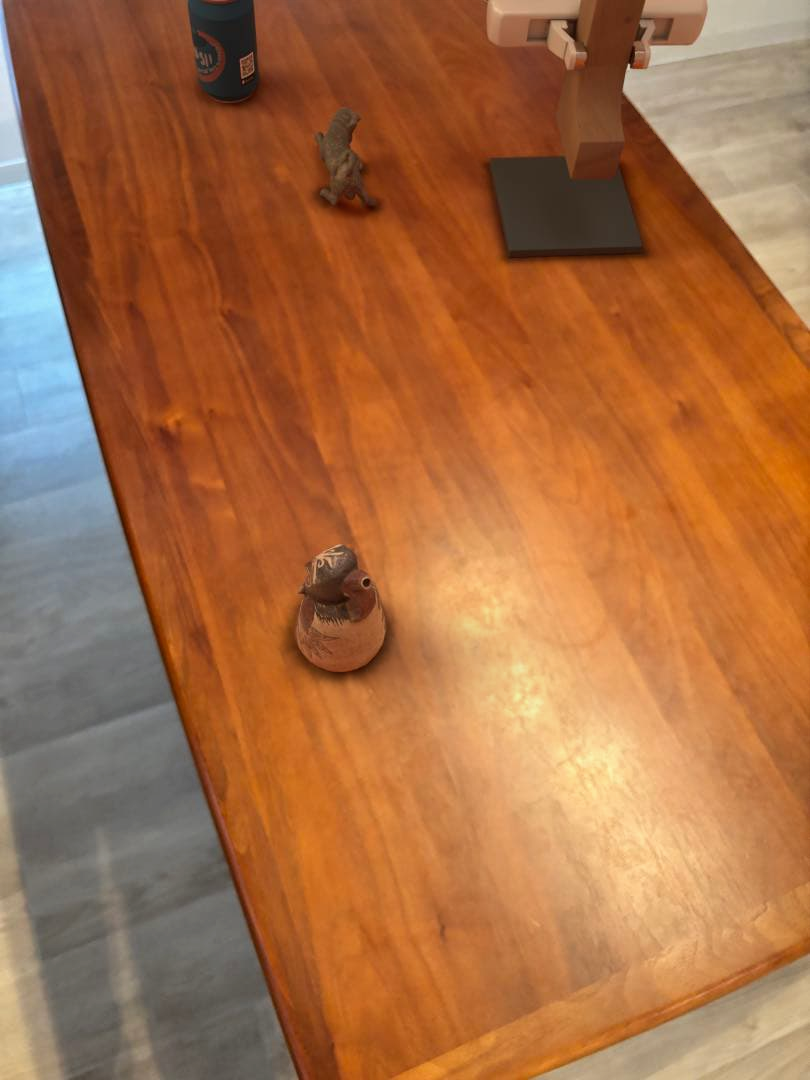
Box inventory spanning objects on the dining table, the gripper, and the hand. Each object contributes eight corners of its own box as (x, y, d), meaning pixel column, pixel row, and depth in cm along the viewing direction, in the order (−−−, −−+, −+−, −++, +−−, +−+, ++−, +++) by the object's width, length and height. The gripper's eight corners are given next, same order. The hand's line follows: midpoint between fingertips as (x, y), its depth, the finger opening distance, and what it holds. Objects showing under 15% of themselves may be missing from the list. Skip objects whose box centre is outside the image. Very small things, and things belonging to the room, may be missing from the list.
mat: (613, 162, 112) (615, 154, 111) (640, 253, 105) (643, 246, 104) (489, 165, 110) (490, 157, 109) (508, 257, 103) (509, 250, 102)
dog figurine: (379, 218, 105) (381, 160, 99) (324, 222, 104) (323, 163, 98) (364, 142, 111) (365, 82, 105) (311, 145, 110) (310, 85, 104)
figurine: (343, 578, 84) (343, 501, 73) (403, 635, 81) (412, 564, 71) (278, 631, 81) (268, 559, 71) (338, 692, 79) (337, 626, 68)
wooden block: (615, 180, 97) (668, 0, 81) (569, 181, 96) (614, 1, 81) (597, 118, 101) (644, -63, 86) (554, 119, 101) (593, -64, 85)
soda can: (186, 86, 114) (170, -17, 104) (231, 60, 117) (220, -43, 107) (228, 115, 112) (216, 12, 102) (273, 87, 115) (266, -15, 104)
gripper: (478, -63, 93) (500, 30, 86) (692, -62, 95) (730, 28, 88) (470, 3, 98) (490, 95, 91) (673, 2, 100) (707, 92, 93)
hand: (610, 63), depth 90 cm, fingers closed on wooden block, 4 cm apart
